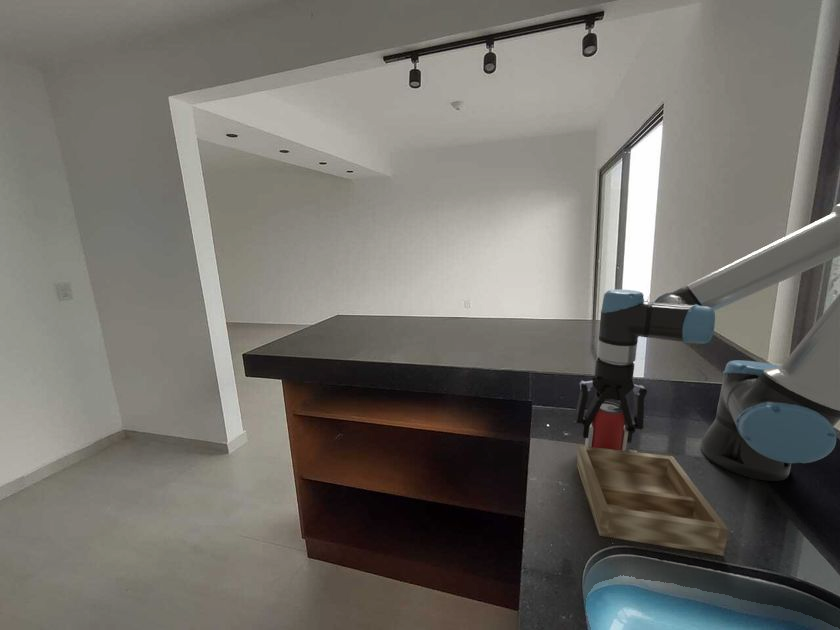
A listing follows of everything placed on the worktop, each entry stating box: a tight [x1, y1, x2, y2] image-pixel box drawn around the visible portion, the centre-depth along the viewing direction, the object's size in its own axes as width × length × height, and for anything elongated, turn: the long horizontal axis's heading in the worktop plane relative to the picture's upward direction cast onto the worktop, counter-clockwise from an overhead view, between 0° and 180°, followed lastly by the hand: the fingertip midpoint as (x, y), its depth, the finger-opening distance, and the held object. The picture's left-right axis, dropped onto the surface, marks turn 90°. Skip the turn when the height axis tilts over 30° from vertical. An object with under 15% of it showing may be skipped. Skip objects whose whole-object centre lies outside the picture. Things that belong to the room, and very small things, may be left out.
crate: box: [576, 445, 729, 557], centre depth 68 cm, size 18×19×5 cm
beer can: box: [591, 401, 625, 450], centre depth 82 cm, size 7×7×12 cm
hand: (604, 451), depth 84 cm, fingers closed on beer can, 7 cm apart
